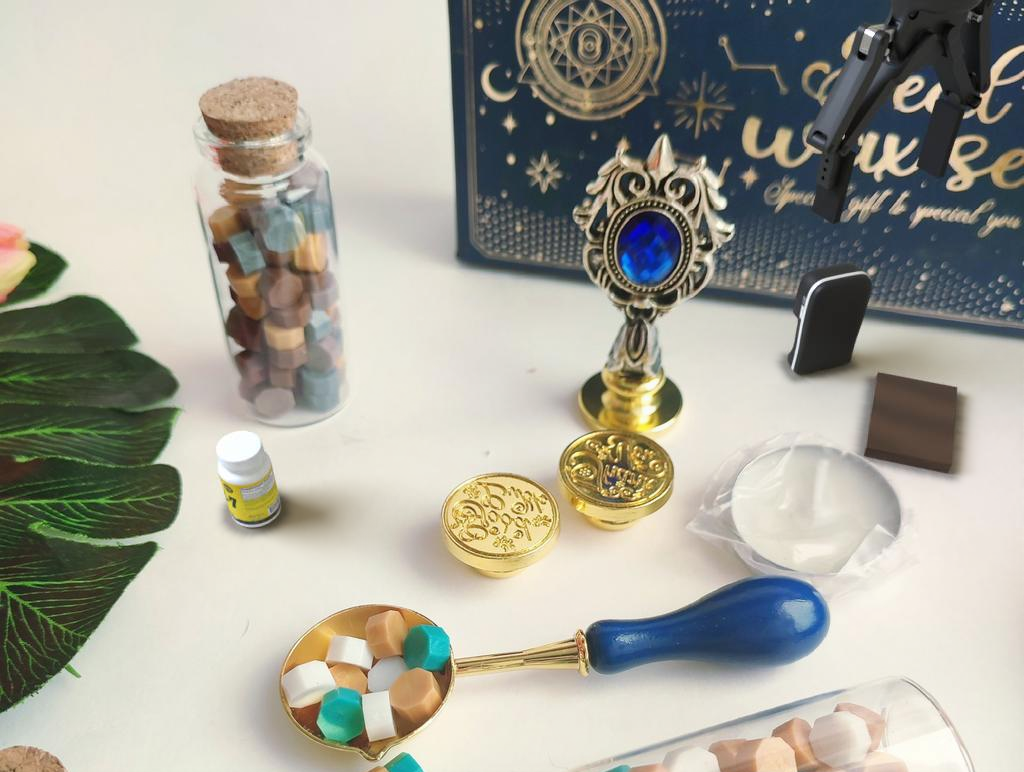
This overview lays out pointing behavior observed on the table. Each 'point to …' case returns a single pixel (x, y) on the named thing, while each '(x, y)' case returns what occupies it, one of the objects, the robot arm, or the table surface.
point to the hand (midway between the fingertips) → (878, 193)
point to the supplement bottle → (248, 479)
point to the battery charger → (828, 316)
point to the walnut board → (912, 422)
